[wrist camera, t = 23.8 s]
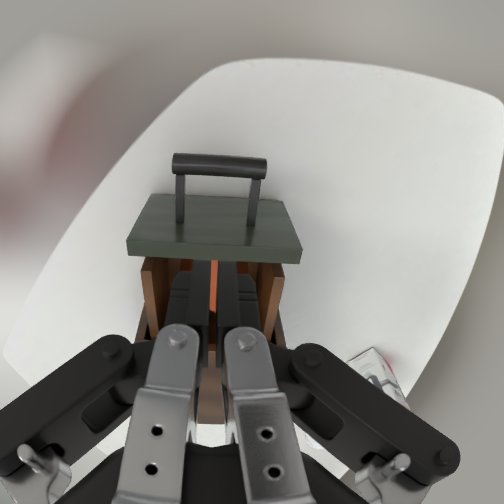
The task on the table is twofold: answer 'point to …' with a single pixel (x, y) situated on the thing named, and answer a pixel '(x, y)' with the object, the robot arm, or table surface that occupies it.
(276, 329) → the cabinet
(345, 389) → the robot arm
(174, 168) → the drawer
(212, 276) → the block
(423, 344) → the table surface
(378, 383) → the ink box
